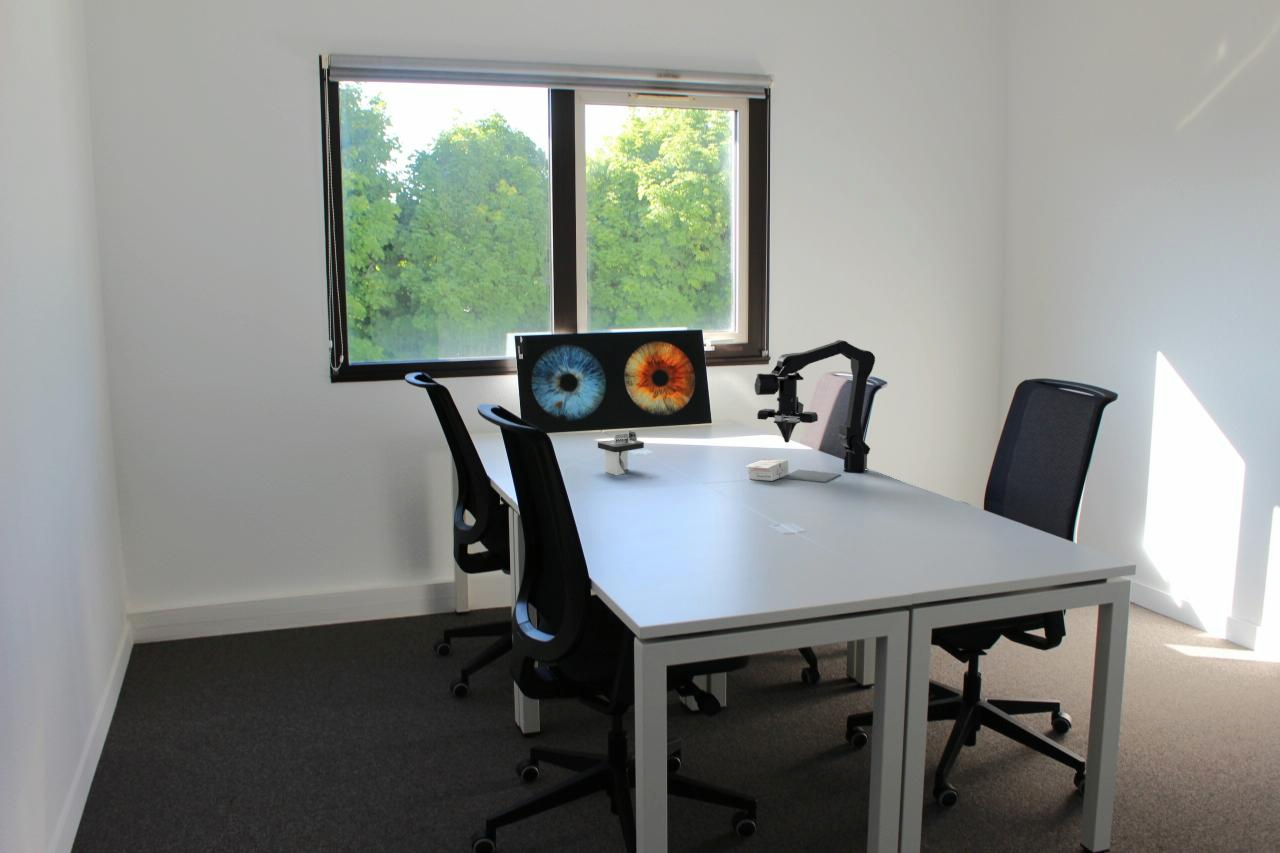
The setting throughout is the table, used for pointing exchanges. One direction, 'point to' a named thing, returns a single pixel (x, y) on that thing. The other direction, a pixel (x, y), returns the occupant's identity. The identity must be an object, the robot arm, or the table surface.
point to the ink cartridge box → (768, 469)
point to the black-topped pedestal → (619, 452)
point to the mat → (811, 476)
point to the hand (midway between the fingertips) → (786, 442)
